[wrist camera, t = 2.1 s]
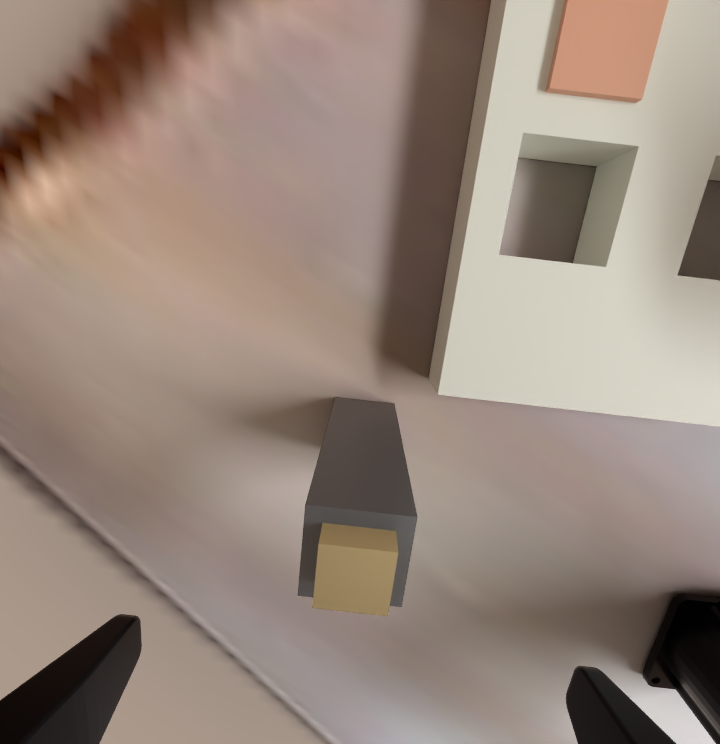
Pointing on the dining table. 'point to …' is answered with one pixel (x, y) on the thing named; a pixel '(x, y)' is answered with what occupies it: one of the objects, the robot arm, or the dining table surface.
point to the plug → (358, 513)
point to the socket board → (590, 213)
